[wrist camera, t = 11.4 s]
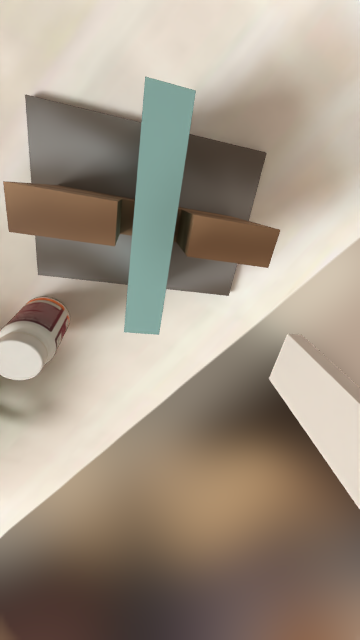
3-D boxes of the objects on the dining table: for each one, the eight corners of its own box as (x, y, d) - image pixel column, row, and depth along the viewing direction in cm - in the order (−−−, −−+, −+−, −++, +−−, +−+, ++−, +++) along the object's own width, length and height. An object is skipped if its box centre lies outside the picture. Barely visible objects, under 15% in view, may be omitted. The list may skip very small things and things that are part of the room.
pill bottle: (13, 305, 27) (-33, 349, 20) (55, 289, 27) (24, 326, 19) (40, 341, 29) (7, 392, 22) (78, 326, 29) (59, 372, 22)
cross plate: (141, 124, 21) (145, 76, 12) (171, 131, 22) (195, 90, 13) (128, 285, 27) (124, 332, 18) (151, 288, 27) (159, 334, 19)
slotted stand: (29, 97, 20) (-71, 12, 10) (262, 153, 24) (345, 129, 14) (40, 272, 26) (-16, 320, 16) (226, 293, 30) (268, 341, 20)
